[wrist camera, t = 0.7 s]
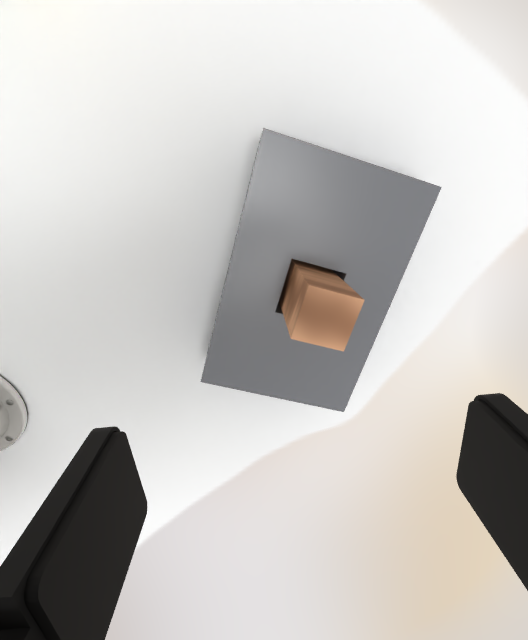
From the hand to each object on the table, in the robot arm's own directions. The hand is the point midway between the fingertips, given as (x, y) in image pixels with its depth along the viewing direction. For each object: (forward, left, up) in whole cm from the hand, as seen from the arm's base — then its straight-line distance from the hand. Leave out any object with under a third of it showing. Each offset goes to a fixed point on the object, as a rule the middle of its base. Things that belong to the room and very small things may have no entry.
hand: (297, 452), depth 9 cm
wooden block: (-1, -5, -29) cm, 29 cm away
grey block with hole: (-1, -5, -29) cm, 29 cm away
